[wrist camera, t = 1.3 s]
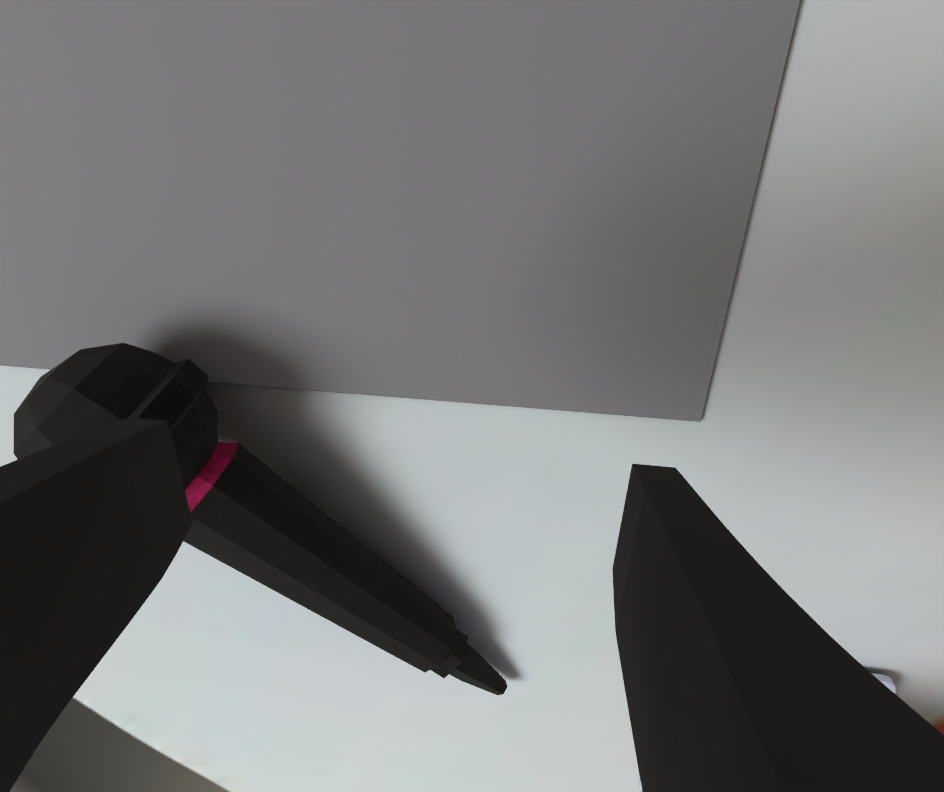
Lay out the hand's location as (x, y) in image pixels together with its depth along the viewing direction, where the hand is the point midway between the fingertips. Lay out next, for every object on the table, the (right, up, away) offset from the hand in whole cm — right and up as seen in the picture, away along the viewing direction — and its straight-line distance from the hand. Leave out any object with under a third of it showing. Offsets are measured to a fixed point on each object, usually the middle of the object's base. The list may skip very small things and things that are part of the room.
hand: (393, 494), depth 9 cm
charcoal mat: (-4, +8, +7) cm, 12 cm away
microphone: (-5, -3, +13) cm, 15 cm away
